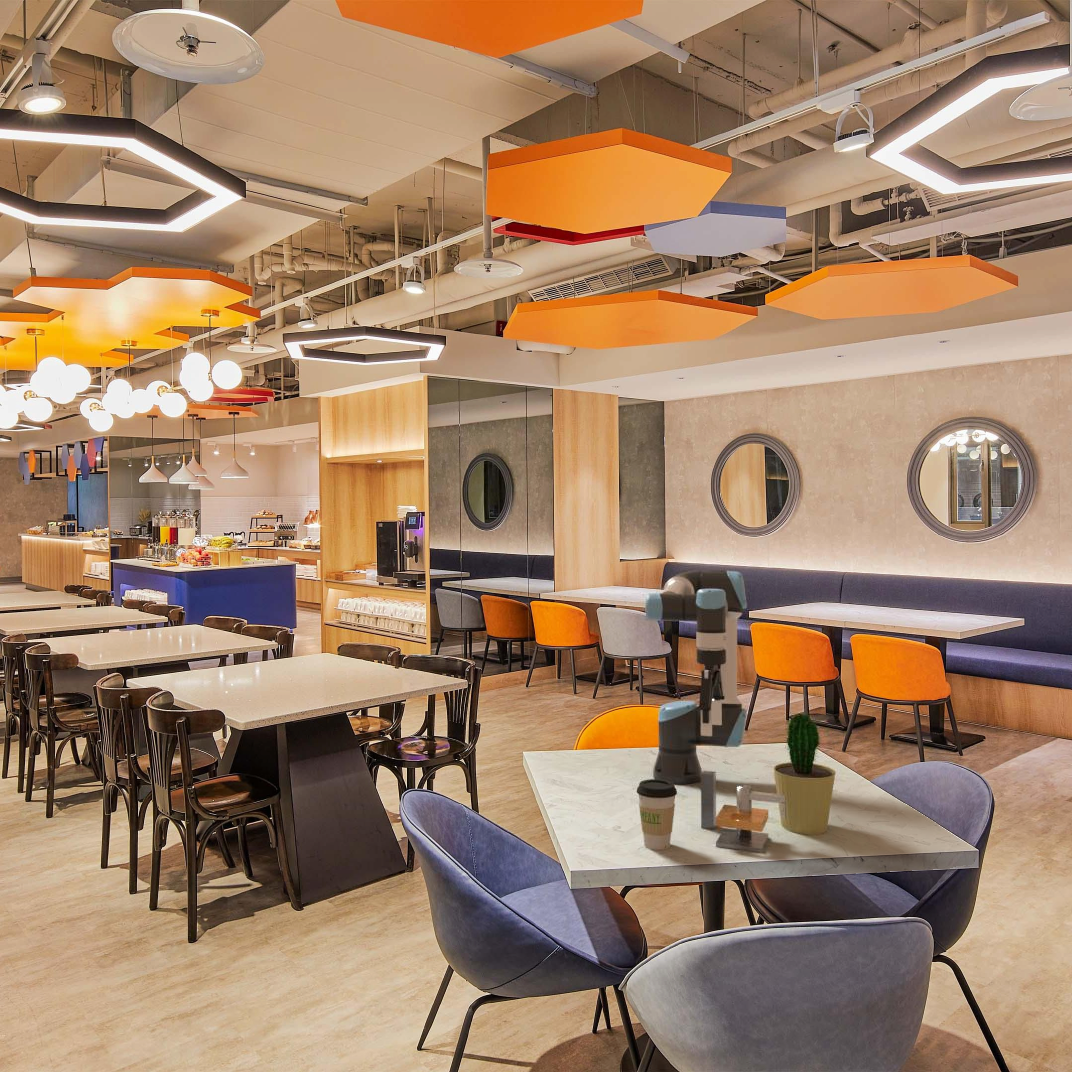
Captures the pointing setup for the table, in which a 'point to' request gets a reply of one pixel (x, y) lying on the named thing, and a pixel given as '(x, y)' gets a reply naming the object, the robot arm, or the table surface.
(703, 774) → the gray rectangular bar
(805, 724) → the potted cactus
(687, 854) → the table surface
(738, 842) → the tiered post stand
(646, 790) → the coffee cup
